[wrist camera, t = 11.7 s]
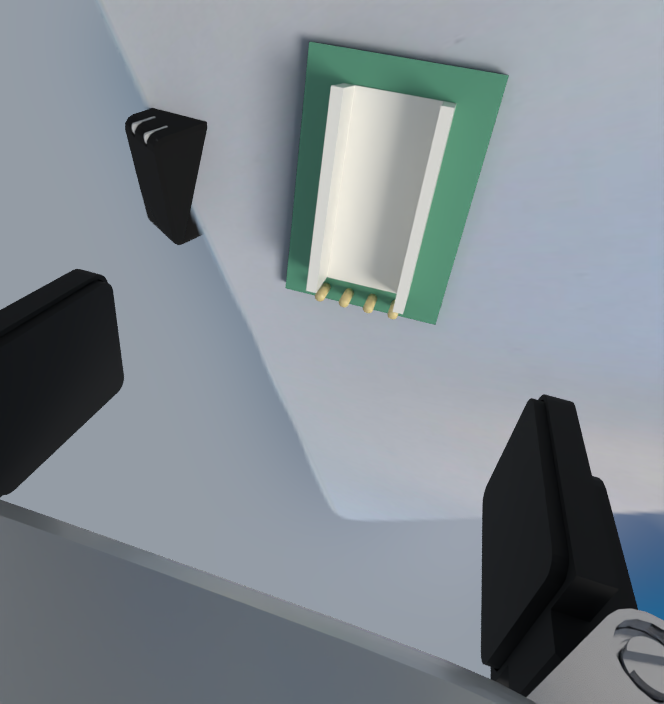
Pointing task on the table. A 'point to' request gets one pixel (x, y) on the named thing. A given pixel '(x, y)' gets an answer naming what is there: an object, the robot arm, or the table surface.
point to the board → (386, 177)
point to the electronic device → (167, 168)
